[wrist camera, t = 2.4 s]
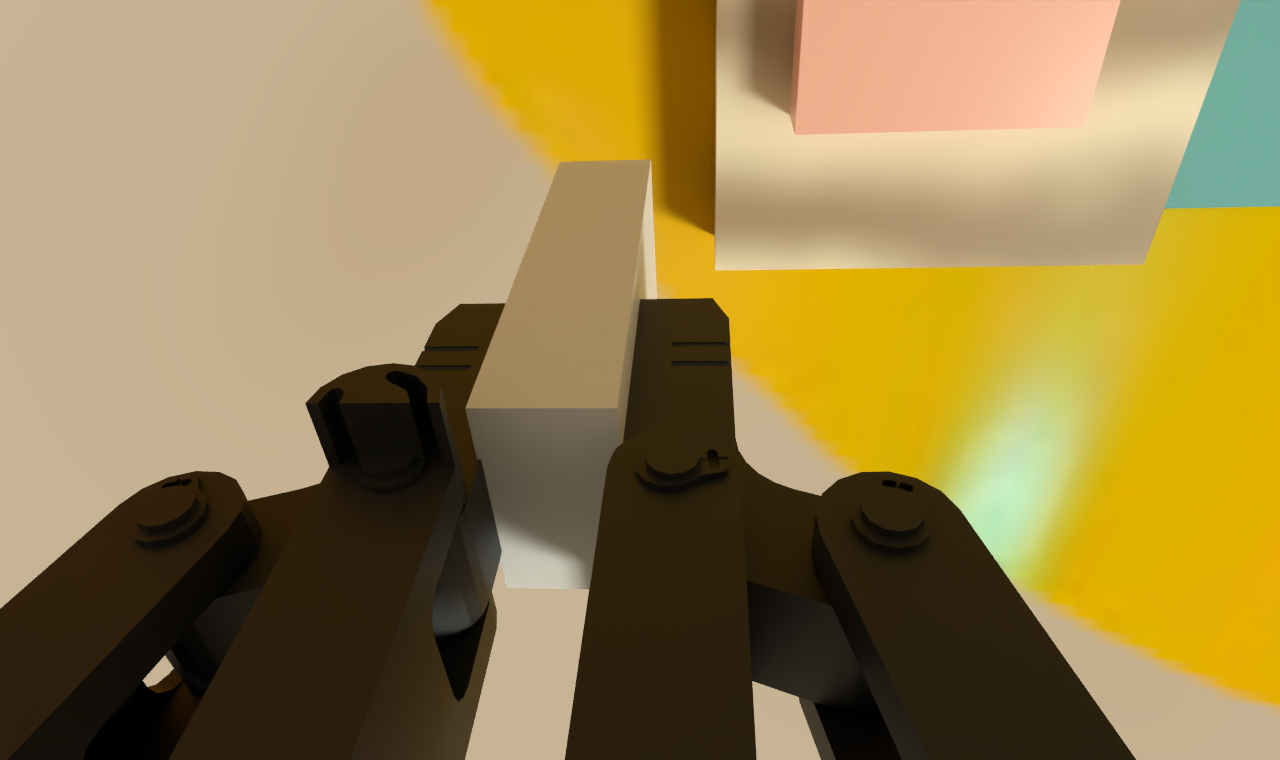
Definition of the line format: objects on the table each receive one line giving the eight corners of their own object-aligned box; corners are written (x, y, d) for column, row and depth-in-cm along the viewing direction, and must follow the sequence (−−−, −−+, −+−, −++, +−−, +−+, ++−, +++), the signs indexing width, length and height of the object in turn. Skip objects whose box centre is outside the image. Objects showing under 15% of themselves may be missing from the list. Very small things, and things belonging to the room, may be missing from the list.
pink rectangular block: (789, 114, 27) (794, 135, 26) (801, -87, 24) (809, -78, 22) (1061, 106, 26) (1084, 126, 25) (1116, -103, 23) (1147, -94, 21)
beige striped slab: (718, -336, 23) (719, -352, 20) (1312, -382, 21) (1389, -404, 19) (714, 235, 33) (715, 270, 31) (1110, 228, 32) (1143, 264, 30)
